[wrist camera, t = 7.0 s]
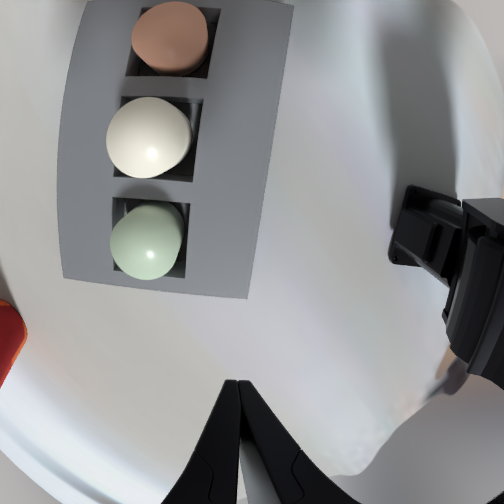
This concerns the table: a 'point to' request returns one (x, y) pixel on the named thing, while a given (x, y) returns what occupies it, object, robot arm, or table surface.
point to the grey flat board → (207, 154)
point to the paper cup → (10, 337)
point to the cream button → (148, 137)
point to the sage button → (148, 239)
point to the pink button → (171, 38)
